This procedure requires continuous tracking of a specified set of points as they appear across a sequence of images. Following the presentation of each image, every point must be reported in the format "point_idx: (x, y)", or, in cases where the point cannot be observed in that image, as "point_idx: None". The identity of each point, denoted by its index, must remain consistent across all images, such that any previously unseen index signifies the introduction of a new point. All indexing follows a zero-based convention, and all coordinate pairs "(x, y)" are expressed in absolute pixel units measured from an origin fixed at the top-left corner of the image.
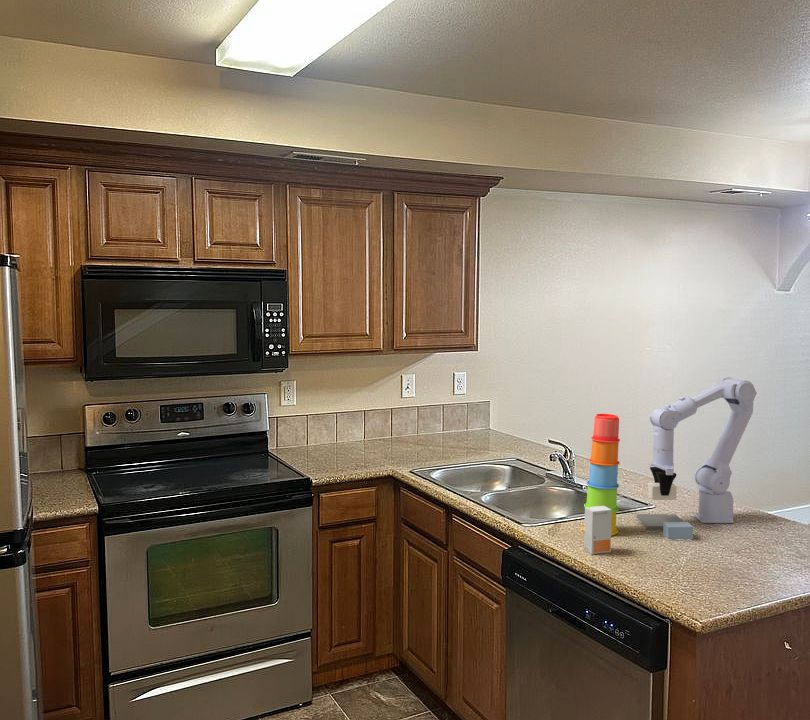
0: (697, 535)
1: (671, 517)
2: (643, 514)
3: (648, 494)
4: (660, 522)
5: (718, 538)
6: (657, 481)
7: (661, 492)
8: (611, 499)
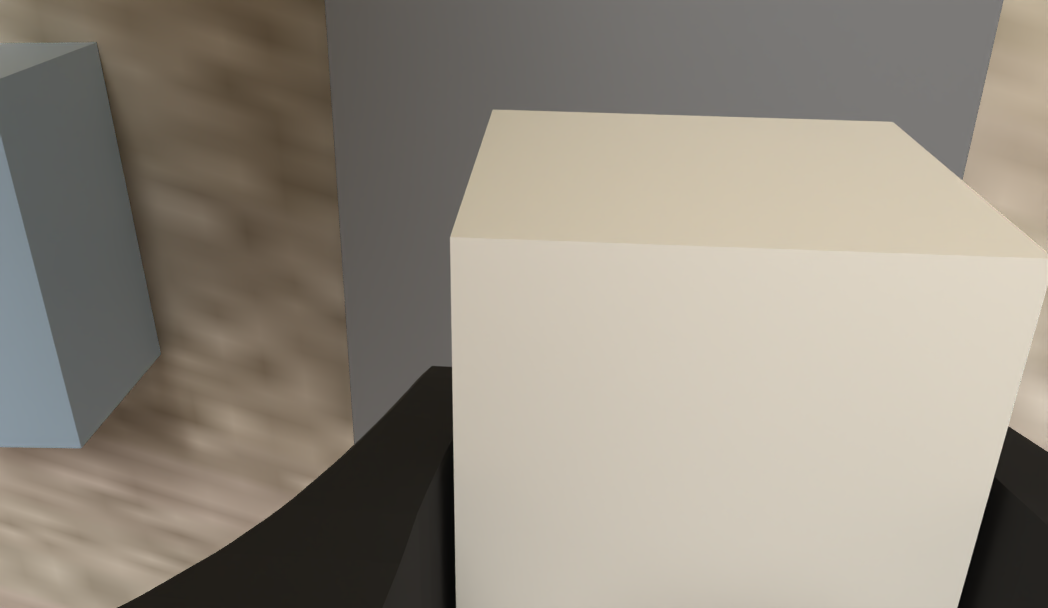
0: (156, 451)
1: None
2: (985, 2)
3: (900, 131)
4: None
5: (88, 605)
6: (1013, 576)
7: (400, 398)
8: None
